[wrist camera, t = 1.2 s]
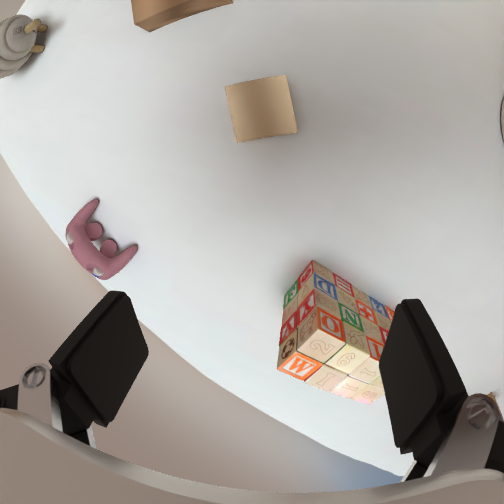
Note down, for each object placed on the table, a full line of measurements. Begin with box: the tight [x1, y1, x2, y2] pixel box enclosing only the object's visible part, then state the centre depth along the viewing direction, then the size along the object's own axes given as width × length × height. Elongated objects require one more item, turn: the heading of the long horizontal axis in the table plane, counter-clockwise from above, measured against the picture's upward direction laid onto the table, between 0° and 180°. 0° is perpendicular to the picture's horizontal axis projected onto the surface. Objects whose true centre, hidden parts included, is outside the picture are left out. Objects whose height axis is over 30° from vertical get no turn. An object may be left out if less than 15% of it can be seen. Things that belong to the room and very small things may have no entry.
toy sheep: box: [0, 15, 47, 78], centre depth 17 cm, size 11×17×11 cm, turn 96°
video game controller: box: [66, 199, 137, 280], centre depth 32 cm, size 10×5×7 cm, turn 40°
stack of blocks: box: [277, 260, 395, 404], centre depth 28 cm, size 21×6×12 cm, turn 61°
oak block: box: [225, 75, 298, 143], centre depth 22 cm, size 5×5×6 cm
